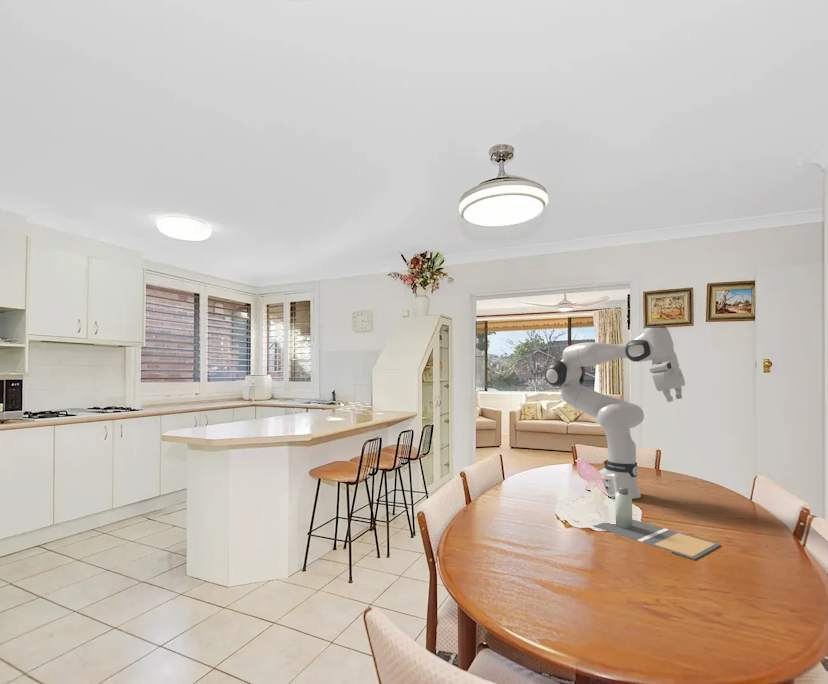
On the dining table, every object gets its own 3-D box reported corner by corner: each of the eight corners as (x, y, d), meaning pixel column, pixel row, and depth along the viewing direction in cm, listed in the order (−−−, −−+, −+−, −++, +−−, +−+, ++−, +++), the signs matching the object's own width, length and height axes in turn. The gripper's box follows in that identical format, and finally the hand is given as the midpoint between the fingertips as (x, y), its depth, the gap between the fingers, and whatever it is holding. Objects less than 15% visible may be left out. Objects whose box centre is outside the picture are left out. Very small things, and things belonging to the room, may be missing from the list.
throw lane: (593, 527, 156) (593, 526, 156) (621, 517, 167) (621, 515, 167) (694, 560, 130) (694, 558, 130) (720, 545, 141) (720, 544, 141)
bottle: (612, 525, 157) (612, 487, 158) (620, 522, 160) (620, 485, 161) (627, 529, 153) (626, 491, 153) (635, 526, 156) (634, 488, 157)
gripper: (667, 365, 190) (676, 398, 188) (647, 368, 176) (656, 404, 174) (684, 362, 185) (693, 396, 183) (664, 365, 172) (673, 402, 170)
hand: (675, 400), depth 178 cm, fingers open, 8 cm apart
